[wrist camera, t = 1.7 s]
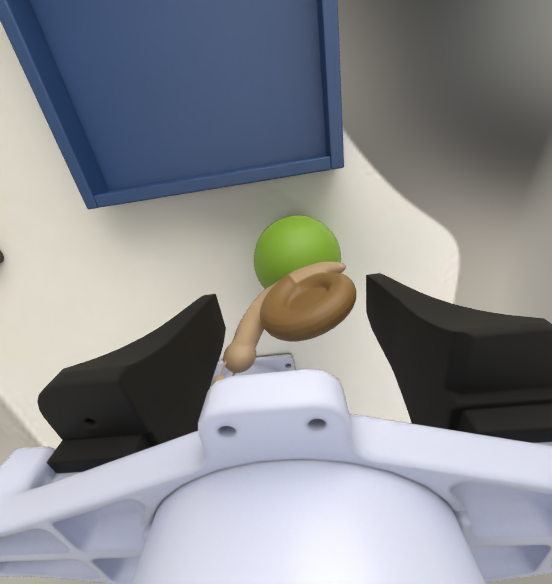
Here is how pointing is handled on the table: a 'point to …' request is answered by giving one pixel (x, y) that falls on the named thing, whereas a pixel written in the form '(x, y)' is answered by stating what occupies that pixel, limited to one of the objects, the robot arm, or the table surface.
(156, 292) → the table surface
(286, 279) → the snail figurine
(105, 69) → the tray
